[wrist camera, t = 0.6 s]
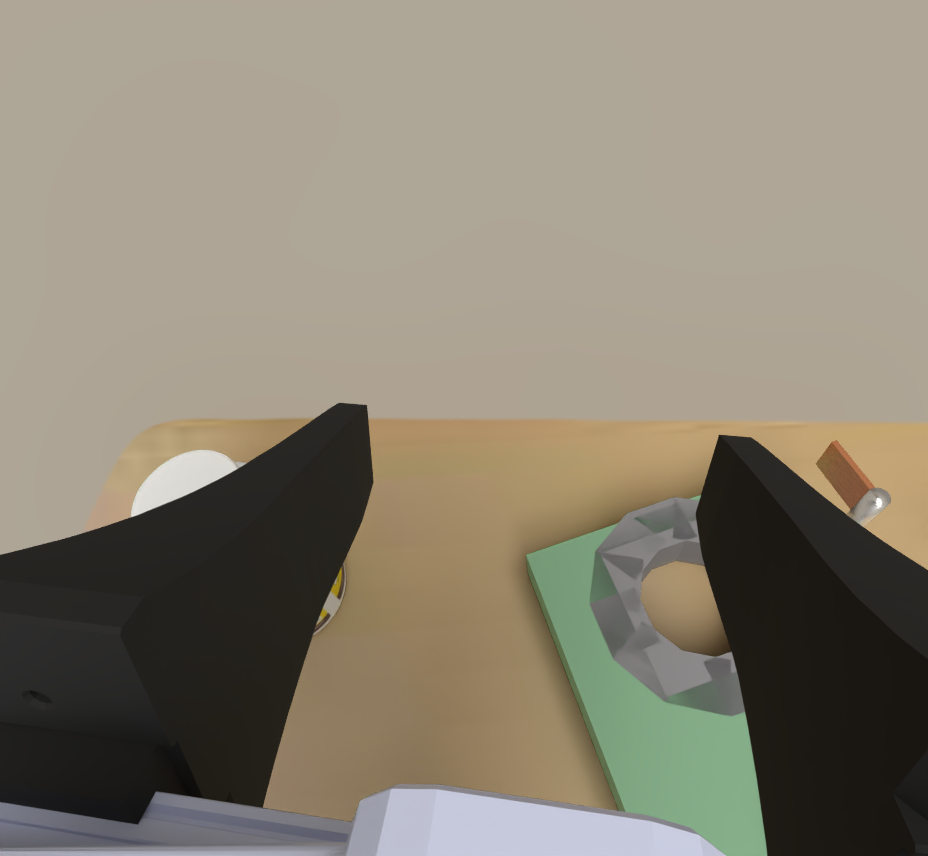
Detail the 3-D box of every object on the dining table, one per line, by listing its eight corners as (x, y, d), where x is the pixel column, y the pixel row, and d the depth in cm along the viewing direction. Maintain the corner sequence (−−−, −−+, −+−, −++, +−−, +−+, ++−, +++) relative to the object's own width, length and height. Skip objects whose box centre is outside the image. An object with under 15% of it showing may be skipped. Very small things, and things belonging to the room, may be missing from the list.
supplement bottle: (288, 519, 31) (188, 407, 23) (372, 568, 29) (296, 465, 21) (215, 613, 29) (73, 528, 20) (300, 673, 27) (182, 606, 18)
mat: (1013, 861, 20) (1063, 866, 18) (687, 990, 19) (702, 1010, 17) (759, 487, 29) (774, 462, 27) (525, 567, 28) (523, 548, 26)
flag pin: (837, 556, 24) (895, 502, 20) (821, 562, 24) (876, 508, 20) (796, 499, 26) (843, 438, 22) (781, 504, 26) (825, 444, 21)
